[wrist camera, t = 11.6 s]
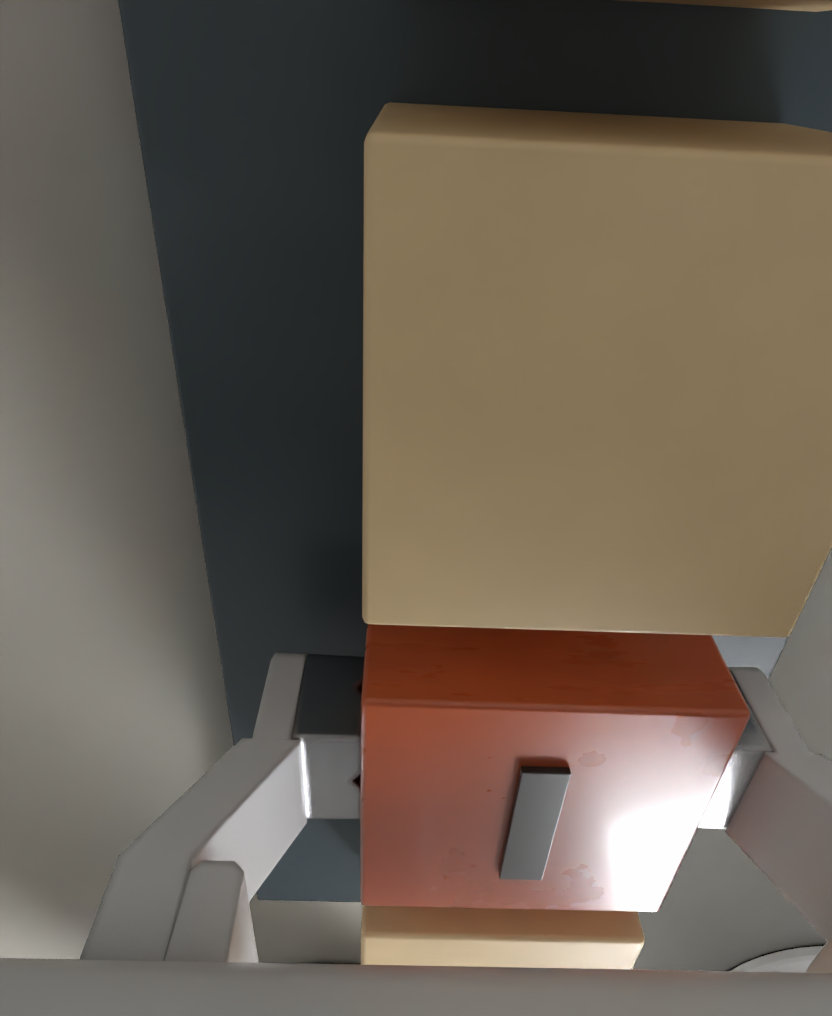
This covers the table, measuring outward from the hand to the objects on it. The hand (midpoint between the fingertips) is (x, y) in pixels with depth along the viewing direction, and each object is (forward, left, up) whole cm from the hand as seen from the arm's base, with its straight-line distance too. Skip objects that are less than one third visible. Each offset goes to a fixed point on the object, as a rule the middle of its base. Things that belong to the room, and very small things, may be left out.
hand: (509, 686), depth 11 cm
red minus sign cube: (0, 0, -1) cm, 1 cm away
